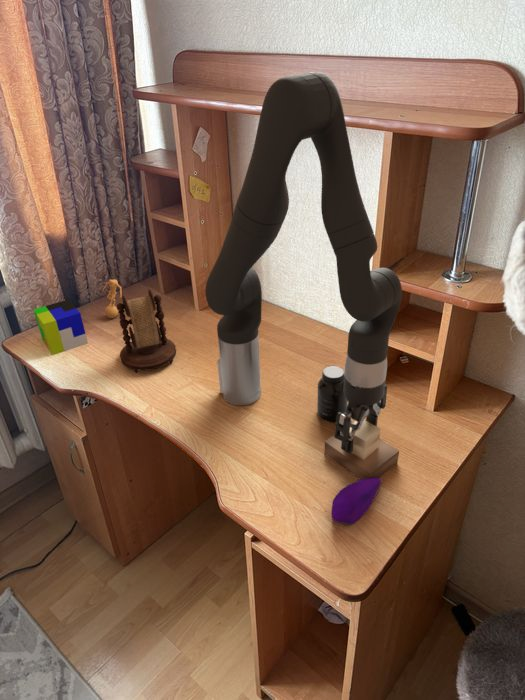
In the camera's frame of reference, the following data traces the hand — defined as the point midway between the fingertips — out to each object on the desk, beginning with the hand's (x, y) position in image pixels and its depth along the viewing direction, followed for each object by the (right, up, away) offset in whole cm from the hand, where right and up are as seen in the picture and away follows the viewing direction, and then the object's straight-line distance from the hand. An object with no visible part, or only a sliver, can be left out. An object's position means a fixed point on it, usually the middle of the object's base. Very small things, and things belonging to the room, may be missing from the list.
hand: (359, 439), depth 108 cm
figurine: (-65, +28, +58) cm, 91 cm away
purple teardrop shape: (-1, -12, -6) cm, 13 cm away
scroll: (-50, +15, +38) cm, 64 cm away
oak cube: (+1, -2, +2) cm, 3 cm away
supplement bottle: (-3, +3, +16) cm, 17 cm away
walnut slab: (+1, -5, +4) cm, 7 cm away
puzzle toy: (-76, +20, +47) cm, 91 cm away
